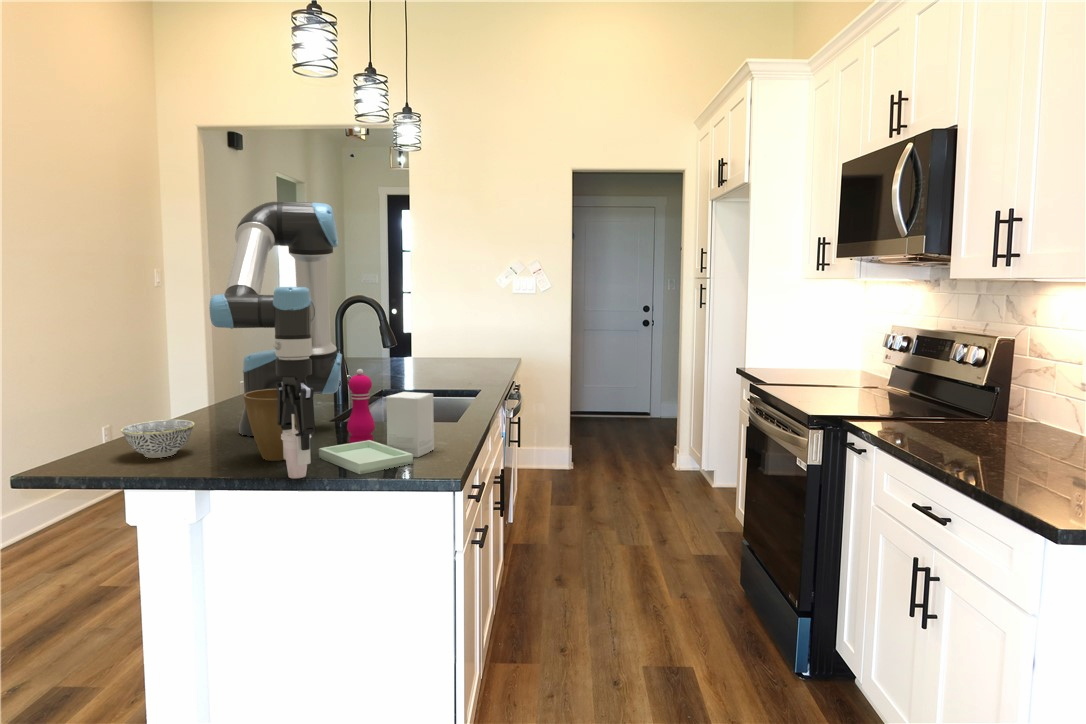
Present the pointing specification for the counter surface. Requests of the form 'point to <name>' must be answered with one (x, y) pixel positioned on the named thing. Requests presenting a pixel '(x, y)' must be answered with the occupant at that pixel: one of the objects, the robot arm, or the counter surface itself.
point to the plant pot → (265, 422)
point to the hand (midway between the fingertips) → (296, 460)
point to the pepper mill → (360, 409)
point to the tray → (365, 456)
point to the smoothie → (292, 453)
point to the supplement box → (410, 422)
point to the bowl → (158, 436)
